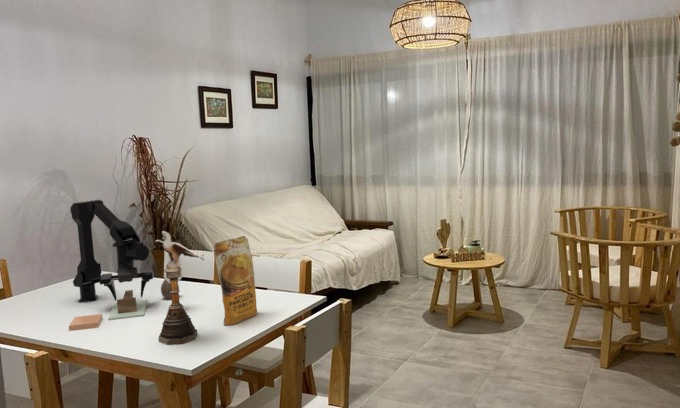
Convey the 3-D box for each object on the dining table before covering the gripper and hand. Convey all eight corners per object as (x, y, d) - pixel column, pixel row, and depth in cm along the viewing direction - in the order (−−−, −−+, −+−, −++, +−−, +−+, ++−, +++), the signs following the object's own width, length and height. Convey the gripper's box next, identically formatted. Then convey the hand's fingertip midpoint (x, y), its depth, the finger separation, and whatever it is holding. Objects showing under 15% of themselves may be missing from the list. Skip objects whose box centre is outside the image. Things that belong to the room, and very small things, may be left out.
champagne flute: (180, 312, 202) (175, 247, 199) (163, 312, 203) (158, 247, 201) (188, 307, 209) (184, 244, 206) (172, 306, 210) (167, 244, 207)
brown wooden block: (121, 303, 215) (120, 291, 214) (138, 301, 216) (137, 289, 216) (118, 313, 202) (116, 300, 201) (136, 311, 204) (135, 298, 203)
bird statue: (191, 324, 189) (183, 222, 185) (216, 331, 181) (209, 224, 177) (148, 339, 176) (139, 230, 172) (173, 347, 168) (164, 233, 164)
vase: (161, 301, 218) (159, 279, 217) (161, 296, 225) (160, 275, 224) (179, 299, 220) (177, 277, 219) (179, 294, 227) (178, 273, 226)
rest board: (114, 304, 216) (114, 303, 216) (146, 301, 219) (146, 299, 219) (108, 320, 197) (108, 318, 197) (144, 315, 200) (144, 314, 200)
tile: (74, 316, 196) (68, 325, 187) (102, 313, 199) (97, 322, 189) (75, 322, 197) (69, 332, 187) (102, 319, 199) (98, 328, 189)
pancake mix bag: (211, 325, 187) (206, 243, 184) (250, 309, 203) (246, 234, 199) (226, 328, 183) (220, 244, 180) (264, 312, 199) (260, 235, 196)
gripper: (95, 265, 199) (99, 307, 201) (150, 260, 205) (153, 301, 206) (99, 259, 210) (103, 299, 212) (151, 254, 215) (154, 294, 217)
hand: (128, 298), depth 211 cm, fingers open, 9 cm apart
